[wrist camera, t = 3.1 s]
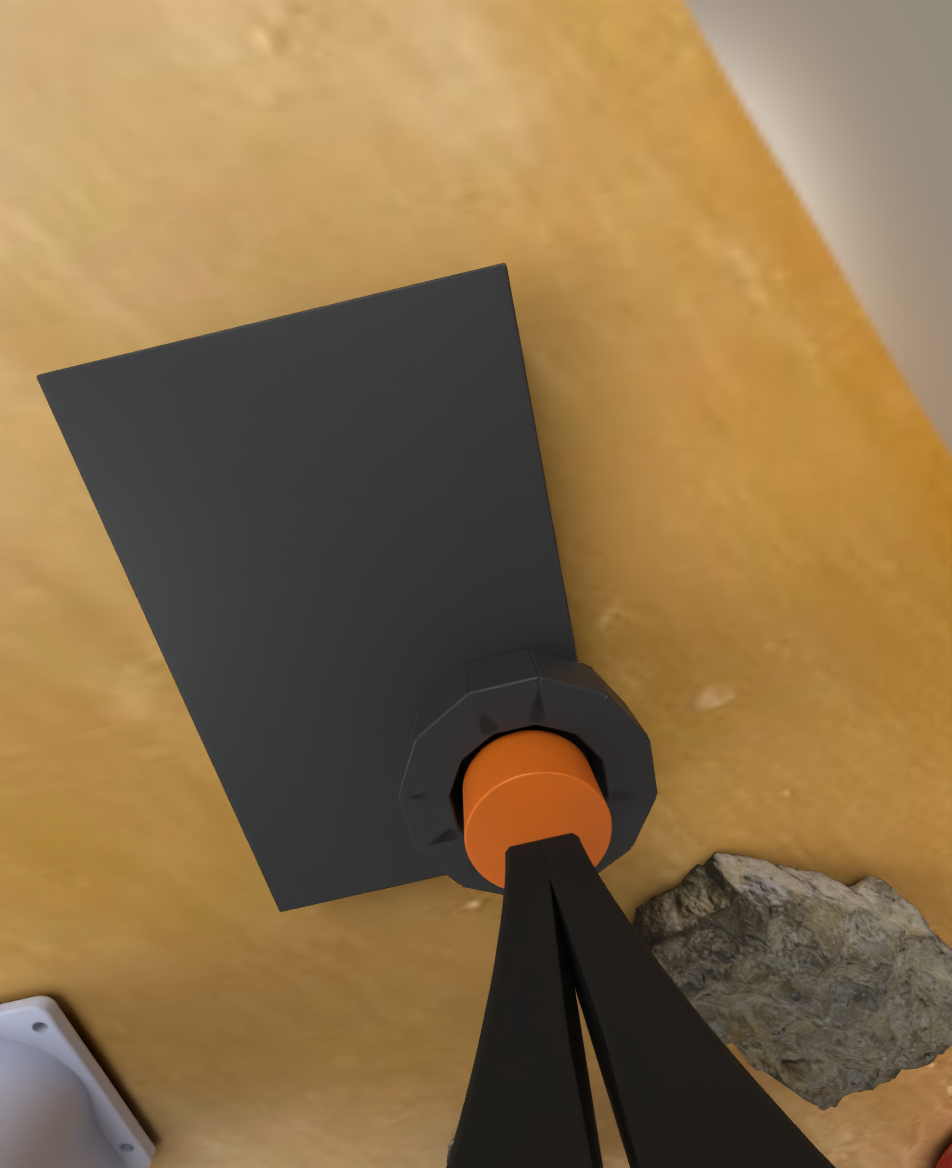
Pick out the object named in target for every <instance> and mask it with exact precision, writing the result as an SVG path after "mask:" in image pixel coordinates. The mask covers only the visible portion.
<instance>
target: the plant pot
mask: <svg viewBox="0 0 952 1168" xmlns="http://www.w3.org/2000/svg"><path fill="white" fill-rule="evenodd" d="M935 1168H952V1143H951V1144H950V1146H949V1147H948V1148H947V1149H946V1150H945V1151H944V1153H943V1155H942V1156H941V1158H940V1159H939V1161H938V1163H937V1165H936V1167H935Z"/></svg>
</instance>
